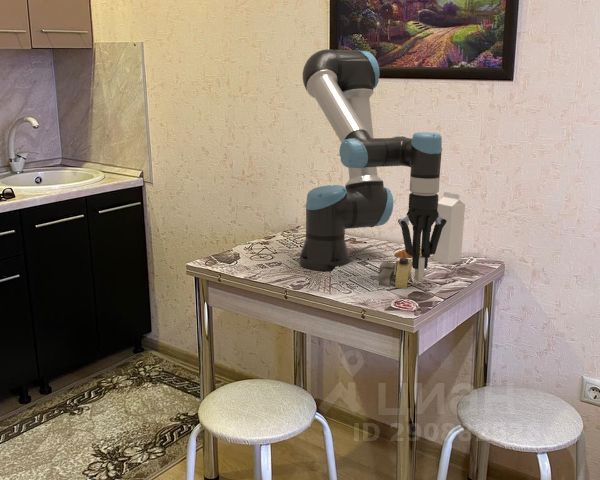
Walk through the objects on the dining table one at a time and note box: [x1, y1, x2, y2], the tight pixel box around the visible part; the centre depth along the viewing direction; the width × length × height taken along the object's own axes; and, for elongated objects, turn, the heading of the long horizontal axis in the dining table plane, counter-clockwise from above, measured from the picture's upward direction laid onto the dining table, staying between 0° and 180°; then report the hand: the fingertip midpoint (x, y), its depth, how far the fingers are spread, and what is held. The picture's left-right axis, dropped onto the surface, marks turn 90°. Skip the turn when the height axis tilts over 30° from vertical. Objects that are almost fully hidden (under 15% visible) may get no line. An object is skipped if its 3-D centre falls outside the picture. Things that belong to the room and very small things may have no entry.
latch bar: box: [394, 259, 413, 289], centre depth 180 cm, size 13×4×4 cm, turn 169°
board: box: [378, 258, 409, 287], centre depth 184 cm, size 17×24×6 cm
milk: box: [432, 191, 466, 265], centre depth 199 cm, size 6×6×22 cm
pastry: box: [393, 247, 422, 259], centre depth 207 cm, size 9×7×4 cm
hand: (418, 279), depth 177 cm, fingers closed
